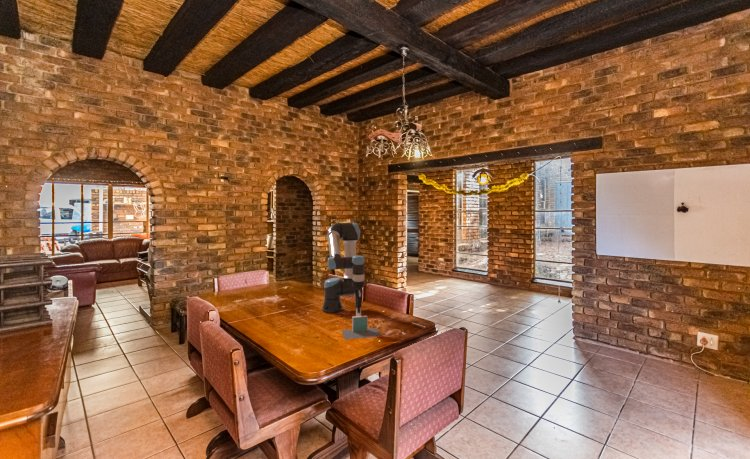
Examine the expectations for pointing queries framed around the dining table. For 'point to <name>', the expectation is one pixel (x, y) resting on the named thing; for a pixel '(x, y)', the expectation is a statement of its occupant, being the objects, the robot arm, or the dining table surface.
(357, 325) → the tile
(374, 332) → the mat
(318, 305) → the dining table surface
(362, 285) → the robot arm
